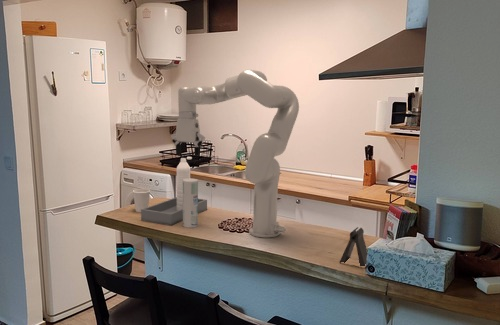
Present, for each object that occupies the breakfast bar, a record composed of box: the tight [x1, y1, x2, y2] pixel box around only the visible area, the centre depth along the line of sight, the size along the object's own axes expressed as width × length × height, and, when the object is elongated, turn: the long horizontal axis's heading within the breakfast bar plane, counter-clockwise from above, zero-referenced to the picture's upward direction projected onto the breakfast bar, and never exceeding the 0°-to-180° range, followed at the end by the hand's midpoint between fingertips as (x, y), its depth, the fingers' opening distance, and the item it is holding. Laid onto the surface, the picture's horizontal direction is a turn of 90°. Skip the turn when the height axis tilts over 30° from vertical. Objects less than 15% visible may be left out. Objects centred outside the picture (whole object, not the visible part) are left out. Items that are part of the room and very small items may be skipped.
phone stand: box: [339, 226, 368, 266], centre depth 149 cm, size 9×6×12 cm, turn 59°
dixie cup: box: [131, 188, 151, 213], centre depth 209 cm, size 8×8×10 cm
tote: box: [140, 196, 208, 226], centre depth 203 cm, size 16×30×5 cm, turn 155°
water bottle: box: [176, 156, 193, 211], centre depth 208 cm, size 9×6×25 cm
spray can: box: [182, 177, 199, 229], centre depth 186 cm, size 6×6×20 cm
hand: (187, 155), depth 192 cm, fingers open, 9 cm apart
